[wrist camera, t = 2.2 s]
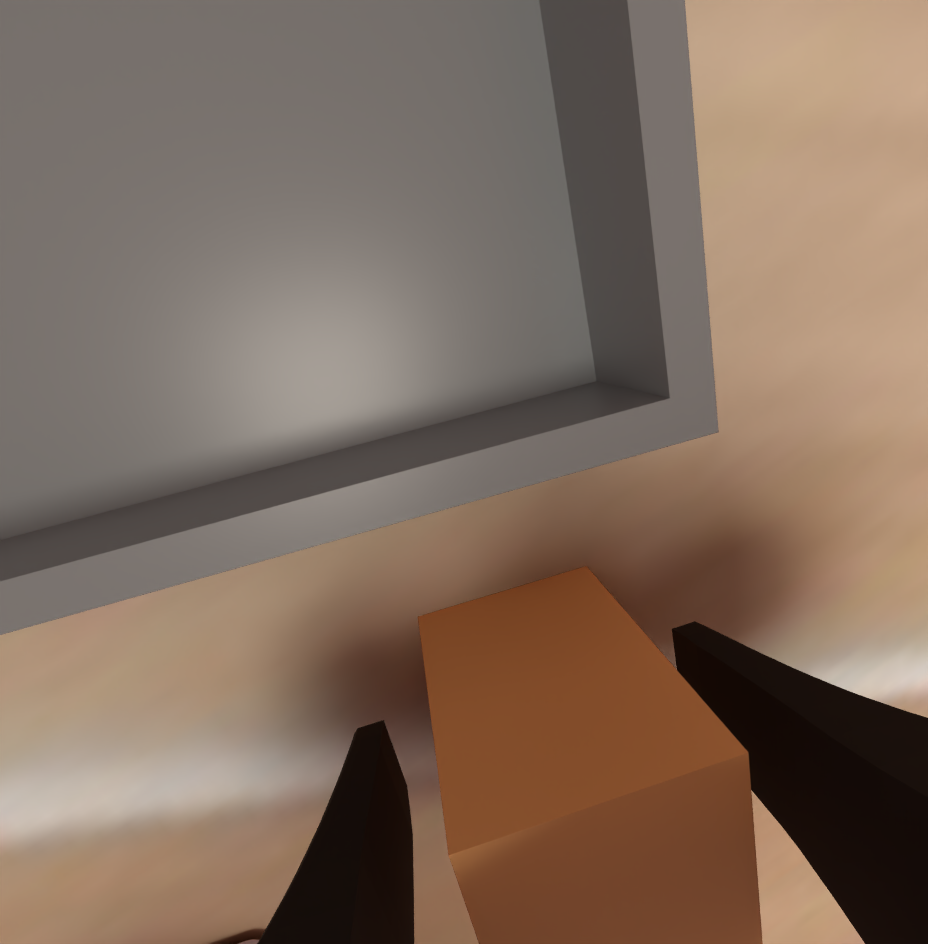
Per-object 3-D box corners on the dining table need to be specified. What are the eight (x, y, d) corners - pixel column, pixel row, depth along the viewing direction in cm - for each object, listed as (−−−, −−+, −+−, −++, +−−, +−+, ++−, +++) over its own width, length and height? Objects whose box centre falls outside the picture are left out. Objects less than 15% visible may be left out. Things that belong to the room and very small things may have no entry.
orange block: (610, 701, 14) (762, 949, 9) (459, 750, 14) (513, 1044, 8) (585, 565, 13) (748, 751, 7) (417, 616, 12) (448, 855, 7)
